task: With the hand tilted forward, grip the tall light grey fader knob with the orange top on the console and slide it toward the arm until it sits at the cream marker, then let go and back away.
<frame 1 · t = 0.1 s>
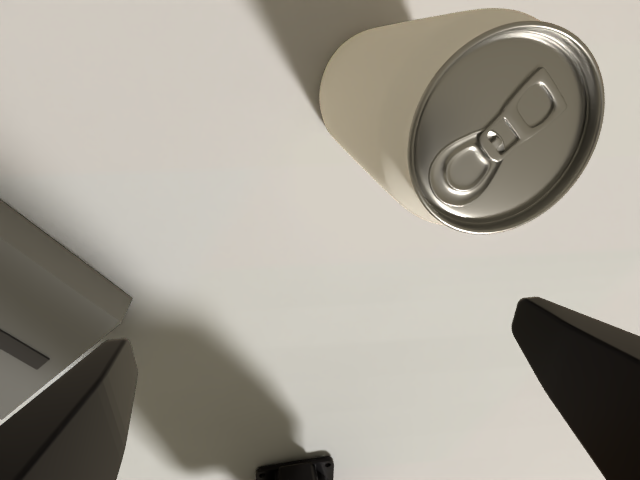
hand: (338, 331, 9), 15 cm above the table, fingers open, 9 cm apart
can: (375, 95, 21), on the table
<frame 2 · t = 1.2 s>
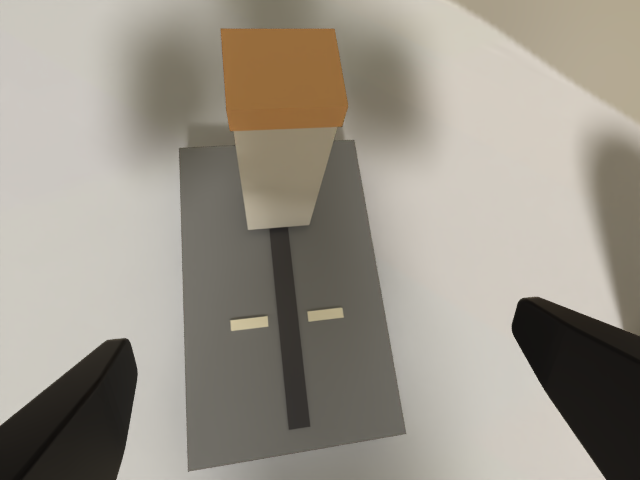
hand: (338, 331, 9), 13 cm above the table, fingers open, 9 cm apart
fader knob: (279, 156, 16), point 8 cm above the table, slide at 4.0 cm
console: (282, 288, 22), on the table
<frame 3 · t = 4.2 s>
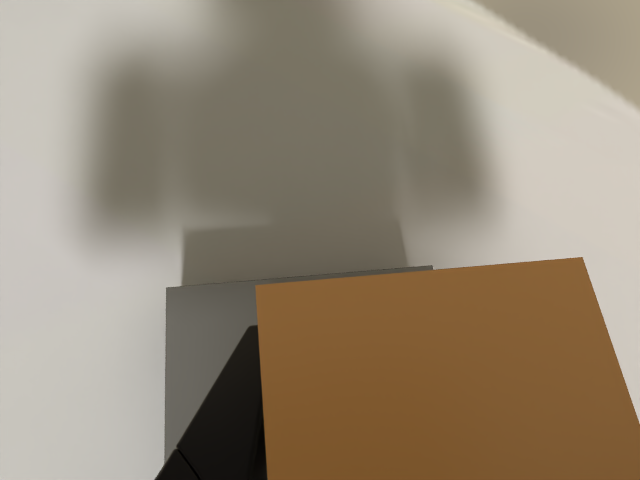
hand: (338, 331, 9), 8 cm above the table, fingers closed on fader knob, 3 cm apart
fader knob: (349, 397, 8), point 8 cm above the table, slide at 4.0 cm, touching gripper
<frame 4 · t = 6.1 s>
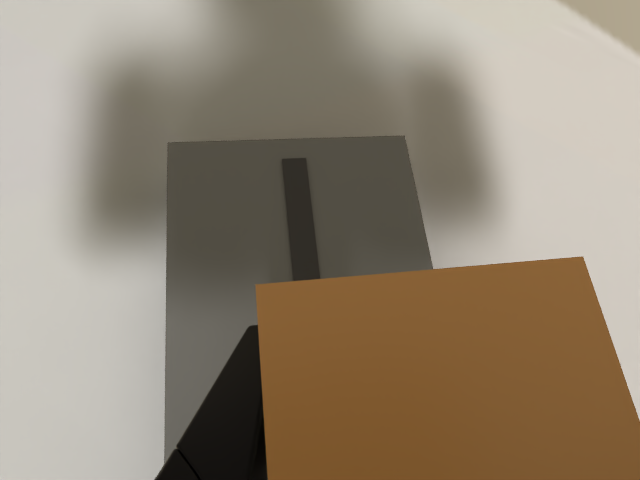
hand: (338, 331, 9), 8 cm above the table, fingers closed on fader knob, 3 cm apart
fader knob: (350, 397, 8), point 8 cm above the table, slide at -1.9 cm, touching gripper
console: (306, 338, 16), on the table
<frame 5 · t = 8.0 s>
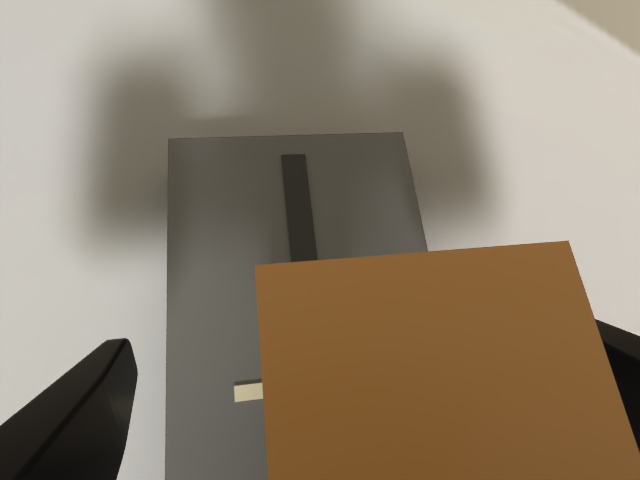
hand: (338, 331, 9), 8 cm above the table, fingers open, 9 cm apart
fader knob: (347, 386, 8), point 8 cm above the table, slide at -2.0 cm
console: (305, 332, 16), on the table
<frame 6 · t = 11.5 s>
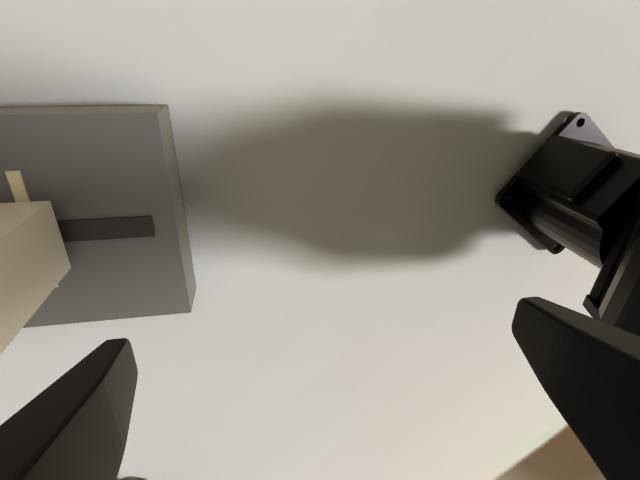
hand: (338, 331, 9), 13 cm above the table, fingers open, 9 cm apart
console: (13, 214, 19), on the table
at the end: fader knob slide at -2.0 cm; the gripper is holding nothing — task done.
